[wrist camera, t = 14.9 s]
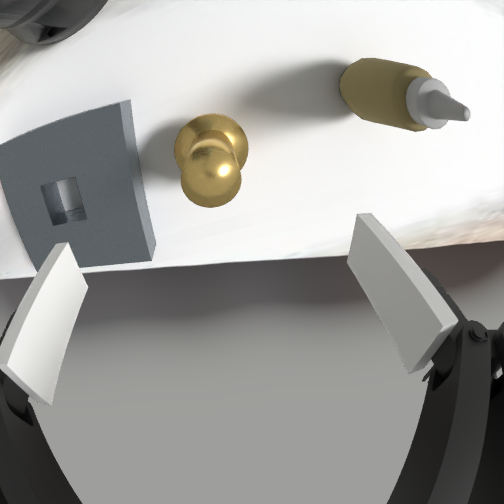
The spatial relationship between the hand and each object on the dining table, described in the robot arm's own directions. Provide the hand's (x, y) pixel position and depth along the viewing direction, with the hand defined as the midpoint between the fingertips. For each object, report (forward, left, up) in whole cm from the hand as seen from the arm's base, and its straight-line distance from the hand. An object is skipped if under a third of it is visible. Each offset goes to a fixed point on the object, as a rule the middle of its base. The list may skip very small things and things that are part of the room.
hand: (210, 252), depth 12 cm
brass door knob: (0, 0, -23) cm, 23 cm away
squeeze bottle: (+8, +18, -23) cm, 30 cm away
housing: (-11, -16, -23) cm, 30 cm away
